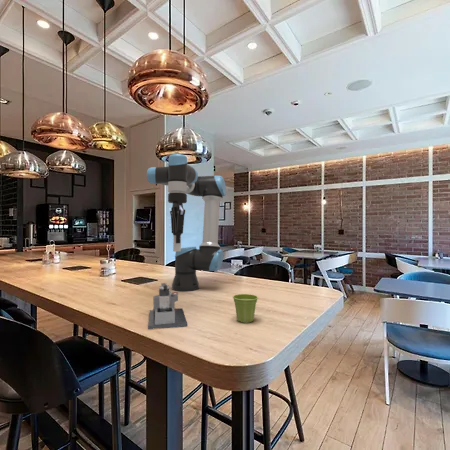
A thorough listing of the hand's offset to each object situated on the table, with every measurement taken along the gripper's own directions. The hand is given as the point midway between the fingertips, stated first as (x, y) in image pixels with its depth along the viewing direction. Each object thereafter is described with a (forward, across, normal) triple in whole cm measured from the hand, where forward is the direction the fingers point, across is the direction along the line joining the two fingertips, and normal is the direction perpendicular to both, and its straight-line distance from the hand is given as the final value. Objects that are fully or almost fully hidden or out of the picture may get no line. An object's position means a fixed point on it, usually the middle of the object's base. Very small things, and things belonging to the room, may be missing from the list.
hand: (176, 251), depth 113 cm
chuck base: (+24, -7, +6) cm, 26 cm away
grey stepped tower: (+23, -12, +8) cm, 28 cm away
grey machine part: (+23, 0, +3) cm, 23 cm away
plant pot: (+25, -21, -20) cm, 38 cm away
